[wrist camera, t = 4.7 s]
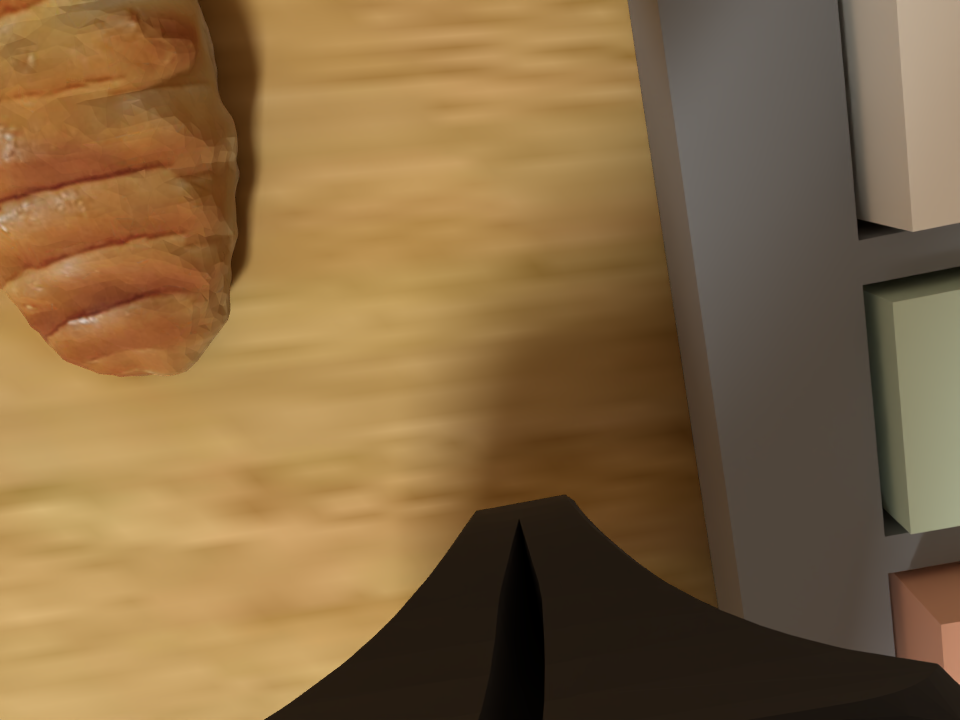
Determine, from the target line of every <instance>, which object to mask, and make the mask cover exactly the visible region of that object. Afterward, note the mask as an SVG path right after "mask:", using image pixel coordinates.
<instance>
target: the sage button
mask: <svg viewBox="0 0 960 720" xmlns="http://www.w3.org/2000/svg"><path fill="white" fill-rule="evenodd" d="M863 296H864V307H865V318H866V330H867V341H868V352H869V364H870V375H871V386H872V397H873V409H874V420H875V431H876V443H877V454H878V465H879V477H880V488H881V499H882V507H883V508H884V509H885V510H886V511H887V512H888V513H889V514H890V515H891V516H892V517H893V518H894V519H895V520H896V521H897V522H899V523H900V524H901V525H902V526H903V527H904V528H905V529H906V530H907V531H908V532H909V533H910V534H916V533H922V532H927V531H933V530H939V529H944V528H950V527H956V526H960V266H958V267H953V268H948V269H943V270H938V271H933V272H928V273H922V274H917V275H912V276H907V277H902V278H897V279H892V280H887V281H882V282H877V283H871V284H866V285H863Z"/></svg>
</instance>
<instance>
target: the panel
mask: <svg viewBox="0 0 960 720" xmlns="http://www.w3.org/2000/svg"><path fill="white" fill-rule="evenodd" d="M628 5H629V12H630V19H631V26H632V32H633V39H634V46H635V52H636V59H637V66H638V72H639V79H640V86H641V93H642V99H643V106H644V113H645V119H646V126H647V133H648V140H649V146H650V153H651V160H652V166H653V173H654V180H655V187H656V193H657V200H658V207H659V213H660V220H661V227H662V233H663V240H664V247H665V254H666V260H667V267H668V274H669V280H670V287H671V294H672V301H673V307H674V314H675V321H676V327H677V334H678V341H679V348H680V354H681V361H682V368H683V374H684V381H685V388H686V395H687V401H688V408H689V415H690V421H691V428H692V435H693V441H694V448H695V455H696V462H697V468H698V475H699V482H700V488H701V495H702V502H703V509H704V515H705V522H706V529H707V535H708V542H709V549H710V556H711V562H712V569H713V576H714V582H715V589H716V596H717V603H718V609H720V610H722V611H725V612H727V613H730V614H732V615H735V616H737V617H740V618H743V619H745V620H748V621H750V622H753V623H756V624H758V625H761V626H764V627H767V628H770V629H773V630H777V631H780V632H783V633H786V634H789V635H793V636H797V637H801V638H805V639H808V640H812V641H816V642H820V643H824V644H828V645H832V646H836V647H840V648H845V649H850V650H856V651H862V652H869V653H875V654H881V655H887V656H894V657H895V646H894V635H893V624H892V612H891V601H890V590H889V578H888V574H889V573H894V572H900V571H906V570H912V569H918V568H923V567H929V566H935V565H941V564H946V563H952V562H958V561H960V526H956V527H950V528H944V529H939V530H933V531H927V532H922V533H916V534H910V533H909V532H908V531H907V530H906V529H905V528H904V527H903V526H902V525H901V524H900V523H899V522H897V521H896V520H895V519H894V518H893V517H892V516H891V515H890V514H889V513H888V512H887V511H886V510H885V509H884V508H883V507H882V499H881V488H880V477H879V465H878V454H877V443H876V431H875V420H874V409H873V397H872V386H871V375H870V364H869V352H868V341H867V330H866V318H865V307H864V296H863V285H866V284H871V283H877V282H882V281H887V280H892V279H897V278H902V277H907V276H912V275H917V274H922V273H928V272H933V271H938V270H943V269H948V268H953V267H958V266H960V223H955V224H950V225H945V226H940V227H935V228H930V229H925V230H920V231H915V232H911V231H907V230H903V229H898V228H894V227H890V226H886V225H881V224H877V223H873V222H869V221H865V220H860V219H857V217H856V205H855V194H854V183H853V171H852V160H851V149H850V137H849V126H848V115H847V104H846V92H845V81H844V70H843V58H842V47H841V36H840V24H839V13H838V2H837V0H628Z"/></svg>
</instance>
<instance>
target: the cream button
mask: <svg viewBox="0 0 960 720" xmlns="http://www.w3.org/2000/svg"><path fill="white" fill-rule="evenodd" d="M837 2H838V13H839V24H840V36H841V47H842V58H843V70H844V81H845V92H846V104H847V115H848V126H849V137H850V149H851V160H852V171H853V183H854V194H855V205H856V217H857V219H860V220H865V221H869V222H873V223H877V224H881V225H886V226H890V227H894V228H898V229H903V230H907V231H911V232H915V231H920V230H925V229H930V228H935V227H940V226H945V225H950V224H955V223H960V0H837Z"/></svg>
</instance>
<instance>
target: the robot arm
mask: <svg viewBox="0 0 960 720" xmlns="http://www.w3.org/2000/svg"><path fill="white" fill-rule="evenodd" d="M265 720H960V684H958V683H957V682H956V681H955V680H954V679H953V678H952V677H951V676H950V675H949V674H948V673H947V672H946V671H945V670H944V669H943V668H942V667H941V666H940V665H939V664H937V663H931V662H925V661H918V660H912V659H906V658H900V657H894V656H887V655H881V654H875V653H869V652H862V651H856V650H850V649H845V648H840V647H836V646H832V645H828V644H824V643H820V642H816V641H812V640H808V639H805V638H801V637H797V636H793V635H789V634H786V633H783V632H780V631H777V630H773V629H770V628H767V627H764V626H761V625H758V624H756V623H753V622H750V621H748V620H745V619H743V618H740V617H737V616H735V615H732V614H730V613H727V612H725V611H722V610H720V609H717V608H715V607H713V606H711V605H709V604H706V603H704V602H702V601H700V600H698V599H696V598H694V597H692V596H691V595H689V594H687V593H685V592H683V591H681V590H679V589H677V588H676V587H674V586H672V585H670V584H668V583H666V582H665V581H663V580H661V579H660V578H659V577H657V576H656V575H654V574H653V573H651V572H650V571H649V570H647V569H646V568H644V567H643V566H642V565H640V564H639V563H638V562H636V561H635V560H634V559H632V558H631V557H630V556H629V555H627V554H626V553H625V552H624V551H623V550H622V549H620V548H619V547H618V546H617V545H616V544H615V543H613V542H612V541H611V540H610V539H609V538H608V537H606V536H605V535H604V534H603V533H602V532H601V531H600V530H599V529H598V528H597V527H596V526H595V525H594V524H593V523H592V522H591V521H590V520H589V519H588V518H587V517H586V515H585V514H584V513H583V512H582V511H581V510H580V508H579V507H578V506H577V504H576V503H575V501H574V500H572V499H571V498H569V497H568V496H566V495H561V496H555V497H550V498H544V499H539V500H533V501H528V502H523V503H517V504H512V505H506V506H501V507H496V508H490V509H485V510H479V511H476V512H475V514H474V515H473V516H472V518H471V519H470V520H469V522H468V523H467V524H466V526H465V527H464V529H463V530H462V532H461V533H460V534H459V536H458V537H457V539H456V540H455V542H454V543H453V545H452V546H451V547H450V549H449V550H448V552H447V553H446V554H445V556H444V557H443V559H442V560H441V561H440V563H439V564H438V565H437V567H436V568H435V569H434V571H433V572H432V573H431V575H430V576H429V577H428V578H427V580H426V581H425V582H424V583H423V584H422V585H421V586H420V588H419V589H418V590H417V591H416V592H415V593H414V595H413V596H412V597H411V598H410V599H409V600H408V601H407V603H406V604H405V605H404V606H403V607H402V608H401V610H400V611H399V612H398V613H397V614H396V615H395V616H394V617H393V618H392V619H391V620H390V621H389V622H388V623H387V624H386V625H385V626H384V627H383V628H382V629H381V630H380V631H379V632H378V633H377V634H376V635H375V636H374V637H373V638H372V639H371V640H370V641H368V642H367V643H366V644H365V645H364V646H363V647H362V648H361V649H360V650H358V651H357V652H356V653H355V654H354V655H353V656H352V657H351V658H349V659H348V660H347V661H346V662H344V663H343V664H342V665H341V666H340V667H338V668H337V669H336V670H334V671H333V672H331V673H330V674H329V675H327V676H326V677H325V678H323V679H322V680H321V681H319V682H318V683H317V684H315V685H314V686H313V687H311V688H310V689H308V690H307V691H306V692H304V693H303V694H302V695H300V696H299V697H298V698H296V699H295V700H294V701H292V702H291V703H289V704H288V705H286V706H285V707H283V708H282V709H280V710H279V711H277V712H276V713H274V714H273V715H271V716H269V717H268V718H266V719H265Z"/></svg>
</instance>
